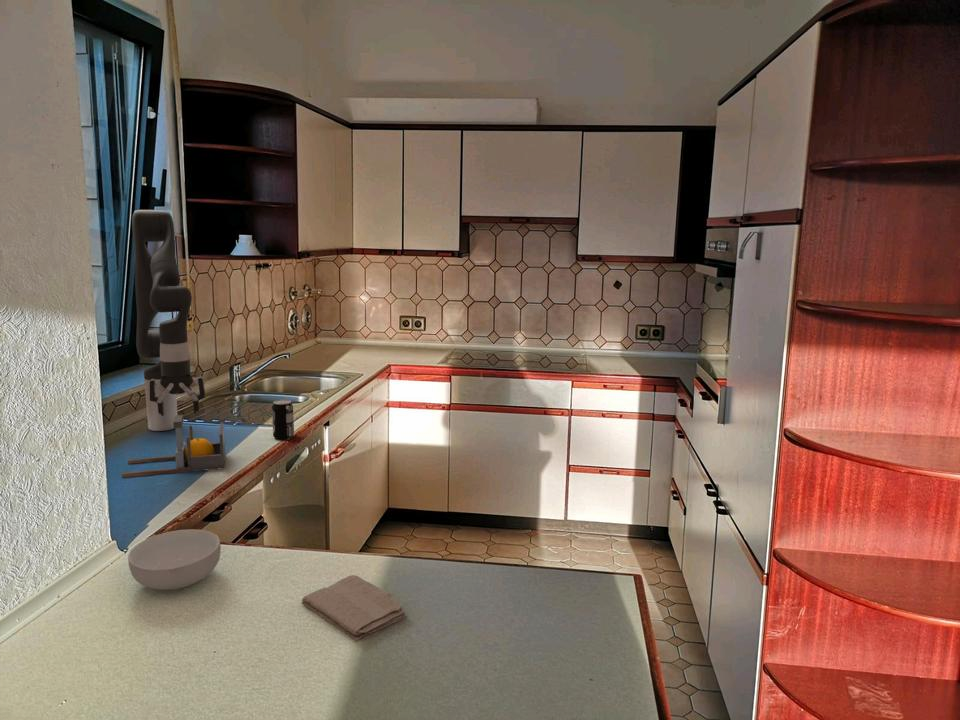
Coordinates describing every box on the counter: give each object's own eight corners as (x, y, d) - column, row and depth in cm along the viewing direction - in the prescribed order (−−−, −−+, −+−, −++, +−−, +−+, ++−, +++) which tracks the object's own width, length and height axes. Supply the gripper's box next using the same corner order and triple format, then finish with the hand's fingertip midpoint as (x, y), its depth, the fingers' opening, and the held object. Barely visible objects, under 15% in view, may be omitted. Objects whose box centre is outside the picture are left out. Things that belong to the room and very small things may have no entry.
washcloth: (358, 647, 121) (358, 630, 121) (298, 607, 133) (298, 592, 133) (411, 619, 130) (411, 603, 129) (350, 584, 142) (350, 569, 141)
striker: (179, 459, 209) (175, 414, 207) (186, 458, 210) (183, 413, 207) (176, 469, 201) (172, 423, 198) (184, 469, 201) (180, 422, 199)
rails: (128, 463, 206) (128, 459, 206) (191, 457, 212) (191, 454, 211) (121, 477, 195) (121, 474, 195) (188, 471, 200) (188, 468, 200)
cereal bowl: (150, 560, 149) (148, 529, 148) (232, 559, 150) (230, 527, 149) (115, 604, 133) (112, 568, 131) (207, 602, 134) (205, 567, 132)
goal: (191, 457, 212) (189, 425, 210) (225, 454, 215) (223, 422, 213) (188, 471, 200) (186, 437, 199) (224, 468, 203) (222, 434, 201)
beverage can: (271, 435, 233) (269, 400, 231) (291, 433, 236) (290, 398, 234) (275, 441, 228) (273, 405, 225) (296, 438, 231) (294, 402, 228)
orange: (205, 469, 203) (204, 443, 201) (179, 467, 204) (177, 442, 202) (219, 459, 210) (218, 435, 209) (194, 458, 212) (192, 433, 210)
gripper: (203, 354, 205) (206, 408, 208) (148, 356, 200) (153, 412, 204) (201, 359, 198) (205, 416, 201) (145, 362, 193) (150, 419, 197)
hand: (179, 414), depth 203 cm, fingers open, 8 cm apart
